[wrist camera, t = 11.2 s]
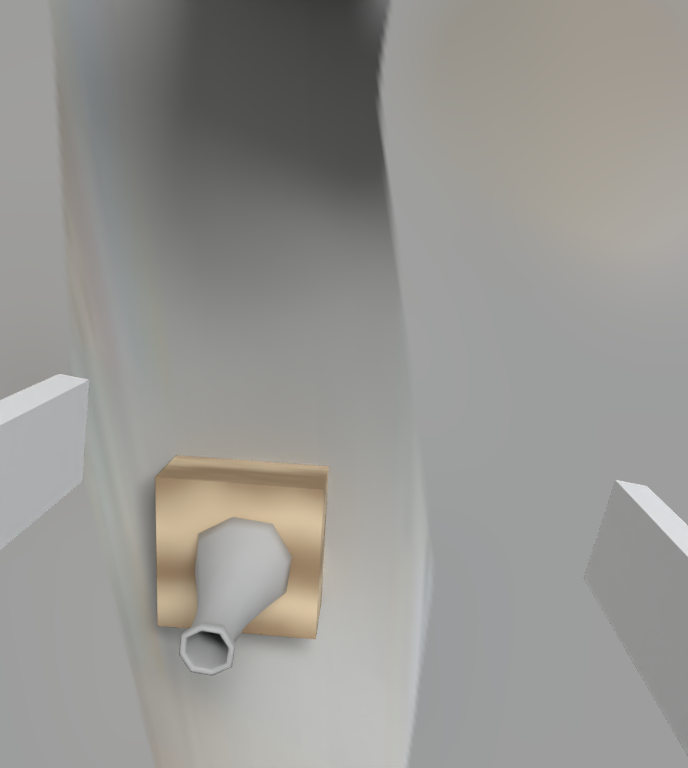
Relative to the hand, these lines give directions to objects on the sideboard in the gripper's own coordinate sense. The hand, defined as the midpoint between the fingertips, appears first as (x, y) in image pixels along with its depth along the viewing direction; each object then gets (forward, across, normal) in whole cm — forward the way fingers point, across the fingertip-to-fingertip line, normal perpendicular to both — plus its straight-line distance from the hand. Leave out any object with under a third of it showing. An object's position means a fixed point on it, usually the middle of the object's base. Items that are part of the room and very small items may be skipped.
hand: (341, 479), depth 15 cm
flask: (+25, -6, -19) cm, 31 cm away
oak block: (+30, -6, -19) cm, 36 cm away
